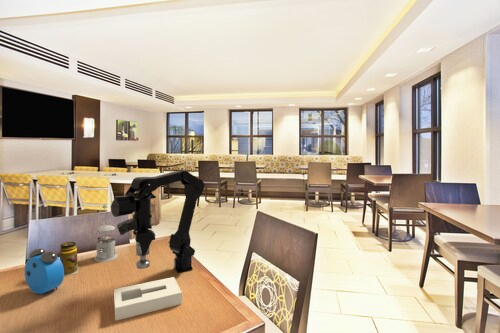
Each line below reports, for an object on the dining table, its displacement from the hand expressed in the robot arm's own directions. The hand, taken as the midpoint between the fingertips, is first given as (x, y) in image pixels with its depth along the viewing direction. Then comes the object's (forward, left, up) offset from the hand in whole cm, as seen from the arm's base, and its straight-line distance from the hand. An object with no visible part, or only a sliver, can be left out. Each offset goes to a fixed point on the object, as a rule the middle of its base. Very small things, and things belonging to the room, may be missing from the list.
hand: (143, 252), depth 101 cm
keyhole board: (0, +12, -13) cm, 18 cm away
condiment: (+27, -26, -13) cm, 40 cm away
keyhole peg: (0, 0, -5) cm, 5 cm away
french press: (+13, -36, -13) cm, 40 cm away
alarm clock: (+32, -12, -13) cm, 37 cm away
